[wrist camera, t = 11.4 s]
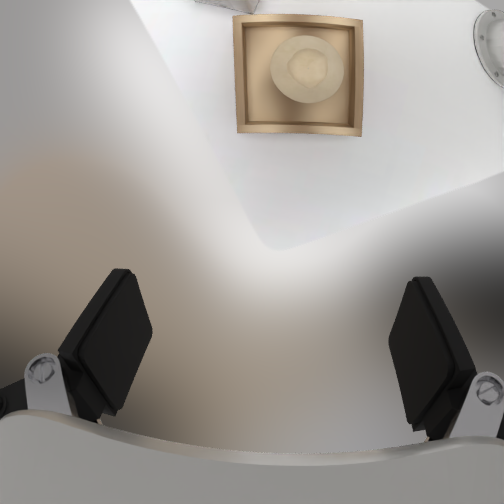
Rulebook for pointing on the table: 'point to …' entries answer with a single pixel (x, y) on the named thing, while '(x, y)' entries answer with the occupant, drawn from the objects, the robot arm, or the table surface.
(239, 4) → the container
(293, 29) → the top crate
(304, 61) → the candle
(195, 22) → the table surface
